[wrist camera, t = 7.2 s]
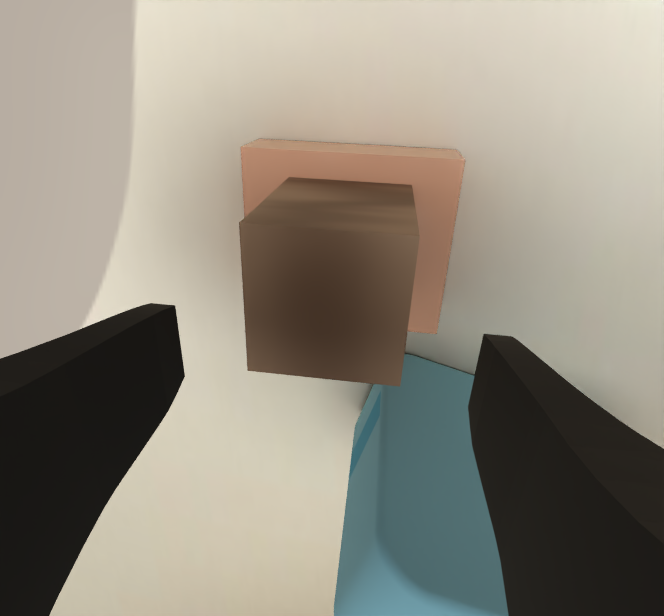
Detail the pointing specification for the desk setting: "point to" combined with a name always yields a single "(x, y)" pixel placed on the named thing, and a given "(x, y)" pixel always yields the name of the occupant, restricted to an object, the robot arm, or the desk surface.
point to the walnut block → (330, 279)
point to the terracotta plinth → (380, 167)
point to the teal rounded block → (417, 505)
